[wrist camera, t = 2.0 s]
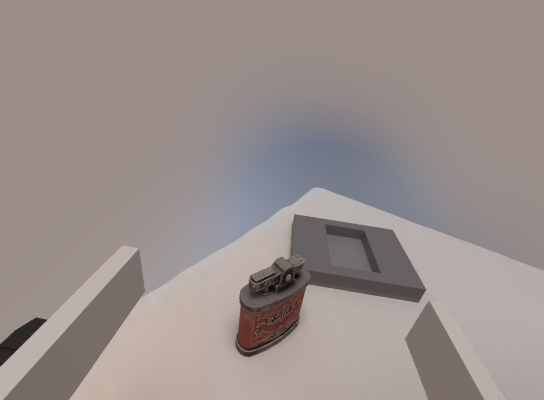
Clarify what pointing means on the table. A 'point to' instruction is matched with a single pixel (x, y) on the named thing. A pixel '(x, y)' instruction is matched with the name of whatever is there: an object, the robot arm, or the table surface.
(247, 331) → the lighter
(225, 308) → the table surface
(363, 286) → the dock
